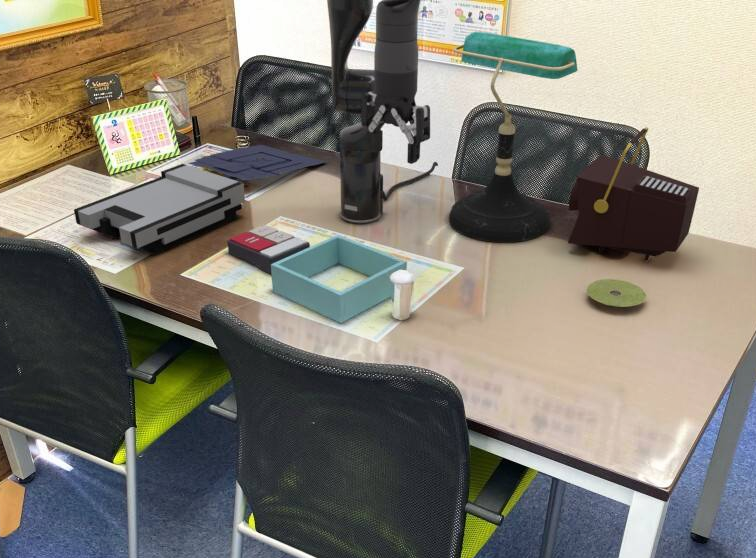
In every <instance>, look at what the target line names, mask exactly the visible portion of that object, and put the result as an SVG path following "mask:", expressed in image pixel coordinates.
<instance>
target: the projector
mask: <svg viewBox="0 0 756 558" xmlns="http://www.w3.org/2000/svg"><path fill="white" fill-rule="evenodd" d="M648 131H649V127H648V126H645V127H644V128H642V129H641V130H640V131H639V132H638V133H637V134H636V135H635V136H634V137H633V138H632V139H631V140H630V141H629V142H628V144H627V146H626V147H625V149H624V150H623V153H622V155H621V157H620V159H617V158H613V157H611V156H607V155H605V154H600V155H598V156H597V158H595V159H594V160H593V161H592V162H591V163H590V164H589V165H588V166H587V167H586V168H585V169H584V170H582V171H581V173H579V174H578V175H577V176H576V180H575V182H574V183H573V185H572V188H571V191H570V194H569V198H568V199H569V200H568V211H570V212H573V211H578V216H577V219H576V221H575V223H574V226H573V227H572V231H571V234H570V235H569V238H568V241H567V244H573V245H585V246H594V247H595V246H597V247H598V253H600V254H603V253H604V250H605V248H607V249H611V250H612V249H613V250H617V251H622V252H628V253H633V254H638V255H643V256H644V261H646V262H648V261H649V259H650V258H651V257H653V258H656V257H658V256H661V255H663V254H664V253H668V252H669V253H676V252H677V251H678V250H679V248H680V246H681V245H682V244H683V242H684V241H685V239H686V238H687V236H689V232H690V229H691V225H692V220H693V217H694V212H695V208H696V203H697V200H698V196H699V190H700V187H699V186H695V185H693V184H690V183H687V182H684V181H682V180H678V179H676V178H673V177H670V176H667V175H663V174H661V173H658V172H655V171H652V170H649V169H646V168H643V167H640V166H637V165H634V163H635V161H636V159H637V156H638V154H639V152H640V149H641V147H642V145H643V143H644V140H645V138H646V135H647V133H648ZM639 139H640V141H639ZM638 141H639V143H638V146H637V147H636V150H635V153H634V154H633V156H632V160H631V161H630V163H628V162H626V161H624V159H625V157H626V154H627V153H628V151H629V149H630V147H632V145H634V144H636V142H638Z"/></svg>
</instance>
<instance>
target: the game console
mask: <svg viewBox="0 0 756 558" xmlns="http://www.w3.org/2000/svg"><path fill="white" fill-rule="evenodd" d="M160 174H161V176H160V177H157V178H155V179H151V180H149V181H146V182H143V183H140V184H138V185H135V186H133V187H130V188H127V189H124V190H122V191H119V192H117V193H114V194H111V195H108V196H105V197H103V198H101V199H98V200H95V201H93V202H90V203H87V204H85V205H81V206H79V207H76V208H74V209H73V212H74V218H75V223H76V225H79V226H82V227H85V228H86V229H89V230H92V231H94V232H97V233H99V234H101V235H104V236H108V237H110V238H112V239H114V240H119V239H120V242H121V243H123V244H125V245H128V246H130V247H132V248H134V249H138V250H141V251H143V252H146V253H149V254H152V255H154V256H157V255H159V254H161V253H163V252H166V251H168V250H170V249H172V248H174V247H178V246H180V245H181V244H183V243H186V242H188V241H190V240H193V239H195V238H197V237H199V236H201V235H204V234H206V233H208V232H210V231H213V230H215V229H217V228H219V227H221V226H224V225H226V224H228V223H231V222H233V221H236V220H237V219H238V217H237V212H239V211H241V210H243V208H242V207H243V206H242V204H244V203H246V196H245V185H244V182H241V181H238V180H234V179H232V178H230V177H229V178H228V177H225V176H222V175H219V174H216V173H213V172H210V171H206V170H204V169H201V168H197V167H194V166H191V165H188V164H185V163H181V164H178V165H176V166H172V167H169V168H167V169H165V170H162V171H160Z"/></svg>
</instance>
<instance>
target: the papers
mask: <svg viewBox="0 0 756 558" xmlns="http://www.w3.org/2000/svg"><path fill="white" fill-rule="evenodd" d="M324 163H327V160H322V159H318V158H315V157H314V158H313V157H309V156H305V155H302V154H298V153H294V152H293V153H292V152H289V151H287V150H282V149H279V148H275V147H272V146H268V145H264V144H257V145H251V146H243V147H239V148H234V149H230V150H226V151H225V150H224V151H220V152H217V153H212V154H210V155H206V156H201V158H196V159H194V161H192V162H187V165H188V164H189V165H192V166H196V167H198V168H199V167H200V168H203V169H206V170H210V171H213V172H217V173H220V174H223V175H227V176H230V177H233V178H237V179H240V180H243V181H249V180H254V179H257V180H260V179H265V178H271V177H276V176H278V175H281V174H285V173H288V172H292V171H296V170H300V169H303V168H307V167H311V166H316V165H317V166H318V165H321V164H324Z"/></svg>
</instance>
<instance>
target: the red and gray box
mask: <svg viewBox="0 0 756 558" xmlns="http://www.w3.org/2000/svg"><path fill="white" fill-rule="evenodd" d="M226 242H227V250H228V254H229V255H231V256H233V257H236V258H238V259H240V260H244V261H246V262H248V263H250V264H253V265H255V266H257V267H258V268H259V269H260V270H261V271H263V272H265V273H268V274H270V275H272V274H271V264H273V263H275V262H278V261H280V260H282V259H284V258H287V257H289V256H291V255H293V254H296V253H298V252H300V251H302V250H304V249H307V248H309V247H311V245H310V244H311V243H310V242H308V241H306V240H304V239H302V238H299V237H295V236H294V235H293V234H291V233H289V232H285V231H283V230H279V229H277V228H274V227H272V226H270V225H266V224H263V225H261V226H259V227H256V228H253V229H250V230H249V231H244V232H242V233H239V234H237V235H235V236H232V237H230V238H229V239H228V240H227V241H226Z"/></svg>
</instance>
